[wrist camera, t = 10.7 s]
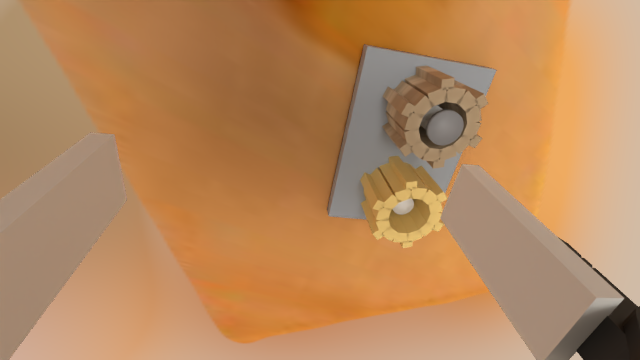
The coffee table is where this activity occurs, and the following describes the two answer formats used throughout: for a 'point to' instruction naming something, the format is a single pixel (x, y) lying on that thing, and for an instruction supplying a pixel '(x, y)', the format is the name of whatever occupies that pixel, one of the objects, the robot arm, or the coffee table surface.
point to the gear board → (370, 115)
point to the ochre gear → (395, 187)
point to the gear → (418, 99)
